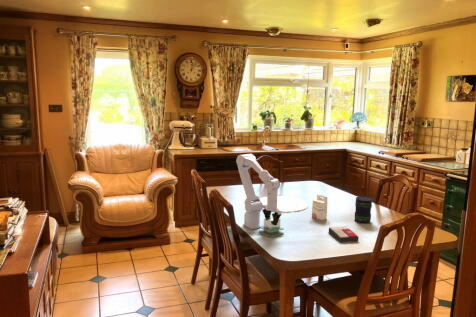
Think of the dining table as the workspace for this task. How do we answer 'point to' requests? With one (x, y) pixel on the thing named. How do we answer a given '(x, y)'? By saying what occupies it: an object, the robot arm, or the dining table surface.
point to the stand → (271, 232)
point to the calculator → (343, 234)
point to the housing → (270, 224)
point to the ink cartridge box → (319, 208)
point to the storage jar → (363, 210)
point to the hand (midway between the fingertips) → (271, 223)
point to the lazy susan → (287, 204)
